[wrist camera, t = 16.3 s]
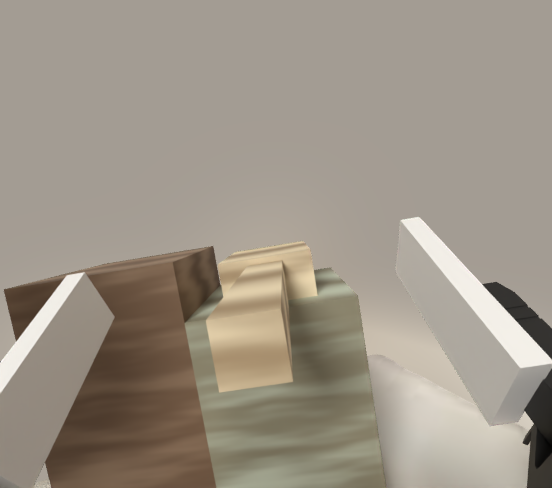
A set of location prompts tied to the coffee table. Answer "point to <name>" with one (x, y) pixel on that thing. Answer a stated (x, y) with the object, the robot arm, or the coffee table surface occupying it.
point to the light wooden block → (258, 314)
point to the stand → (210, 389)
